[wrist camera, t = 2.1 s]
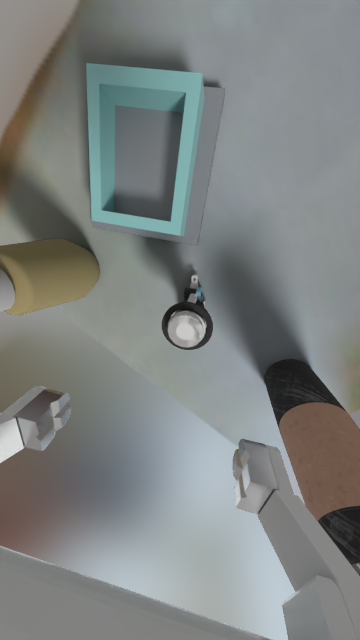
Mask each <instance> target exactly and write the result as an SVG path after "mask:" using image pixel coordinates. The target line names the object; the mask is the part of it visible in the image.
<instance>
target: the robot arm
mask: <svg viewBox="0 0 360 640" xmlns="http://www.w3.org/2000/svg"><path fill="white" fill-rule="evenodd" d="M69 399H70V398H69V394H66V393H62V392H59V391H55V390H52V389H48V388H45V387H41V386H36V387H34V388H32V389H31V390H30V391H29V392H27V393H26V394H25V395H24V396H22V397H21V398H20V399H19V400H18V401H16V402H15V403H14V404H12V405H11V406H10V407H9V408H7V409H6V410H5V411H4V412H3V413H0V463H1V462H2V461H4V460H6V459H7V458H9V457H10V456H12V455H14V454H15V453H17V452H18V451H20V450H21V449H23V448H24V447H27V448H31V449H35V450H39V451H43V450H44V449H45V448H46V447H47V445H48V444H49V443H50V442H51V440H52V439H53V438H54V437H55V431H56V430H58V429H60V428H62V427H63V426H64V424H65V423H66V422H67V420H68V418H69V416H70V412H71V406H70V405H69V404H68V401H69ZM233 475H234V477H235V479H236V480H237V482H236V485H235V487H234V490H235V501H236V508H239V509H242V510H245V511H248V512H251V513H254V514H257V515H258V517H259V520H260V522H261V523H262V526H263V528H264V530H265V532H266V534H267V536H268V538H269V540H270V542H271V543H272V546H273V547H274V549H275V552H276V553H277V555H278V557H279V559H280V562H281V564H282V565H283V567H284V570H285V572H286V574H287V576H288V578H289V580H290V582H291V584H292V586H293V588H294V590H295V593H294V594H293V595H291V596H290V597H289V598H288V599H286V600H285V602H284V603H283V605H282V607H283V612H284V618H285V623H286V629H287V634H288V639H289V640H360V576H359V575H358V573H357V572H356V571H355V569H354V568H353V567H352V566H351V564H350V563H349V562H348V560H347V559H346V558H345V556H344V555H343V554H342V553H341V551H340V550H339V549H338V547H337V546H336V545H335V543H334V542H333V541H332V540H331V538H330V537H329V536H328V534H327V533H326V532H325V530H324V529H323V528H322V527H321V525H320V524H319V523H318V521H317V520H316V519H315V517H314V516H313V515H312V514H311V512H310V511H309V510H308V508H307V507H306V506H305V504H304V503H303V502H302V501H301V499H300V498H299V497H298V496H296V495H294V493H293V490H292V487H291V484H290V481H289V478H288V475H287V472H286V469H285V466H284V463H283V460H282V457H281V454H280V451H279V449H278V448H276V447H272V446H268V445H264V444H262V443H258V442H254V441H249V440H245V439H241V440H240V441H239V449H237V450H236V451H235V453H234V457H233ZM0 640H271V639H268V638H266V637H263V636H260V635H257V634H254V633H251V632H249V631H246V630H243V629H240V628H237V627H234V626H231V625H228V624H225V623H222V622H220V621H217V620H214V619H211V618H208V617H205V616H202V615H199V614H196V613H193V612H191V611H188V610H185V609H182V608H179V607H176V606H173V605H170V604H167V603H165V602H161V601H159V600H156V599H153V598H150V597H147V596H144V595H141V594H138V593H135V592H133V591H130V590H127V589H124V588H121V587H118V586H115V585H112V584H109V583H107V582H104V581H101V580H98V579H95V578H92V577H89V576H86V575H83V574H80V573H78V572H74V571H72V570H69V569H66V568H63V567H60V566H57V565H54V564H52V563H49V562H45V561H43V560H40V559H37V558H34V557H31V556H28V555H25V554H23V553H19V552H17V551H13V550H11V549H8V548H5V547H2V546H0Z"/></svg>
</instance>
